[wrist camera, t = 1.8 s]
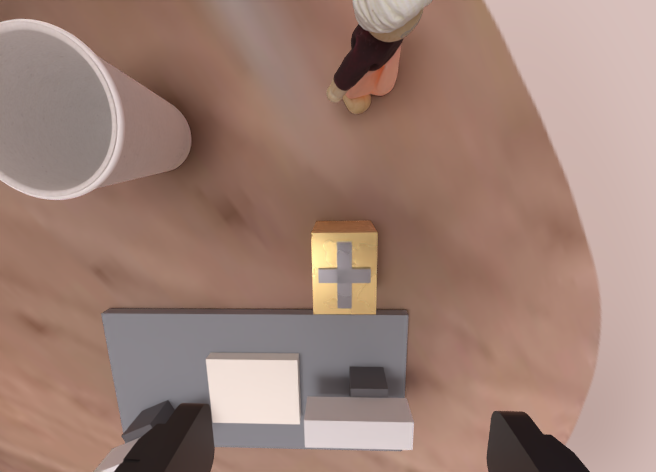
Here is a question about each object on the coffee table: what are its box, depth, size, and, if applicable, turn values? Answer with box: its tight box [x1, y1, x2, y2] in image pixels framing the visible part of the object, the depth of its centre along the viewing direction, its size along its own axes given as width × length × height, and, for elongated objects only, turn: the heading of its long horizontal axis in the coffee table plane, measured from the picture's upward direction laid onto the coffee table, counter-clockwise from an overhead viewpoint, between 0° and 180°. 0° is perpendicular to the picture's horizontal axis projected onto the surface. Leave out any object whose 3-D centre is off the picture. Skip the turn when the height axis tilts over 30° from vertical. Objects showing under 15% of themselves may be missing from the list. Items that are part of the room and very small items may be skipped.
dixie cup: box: [0, 19, 191, 200], centre depth 20 cm, size 8×8×10 cm
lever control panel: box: [94, 309, 414, 472], centre depth 26 cm, size 27×14×6 cm, turn 91°
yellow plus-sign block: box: [311, 221, 378, 314], centre depth 23 cm, size 6×4×5 cm
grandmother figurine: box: [326, 0, 432, 114], centre depth 17 cm, size 8×4×13 cm, turn 151°
